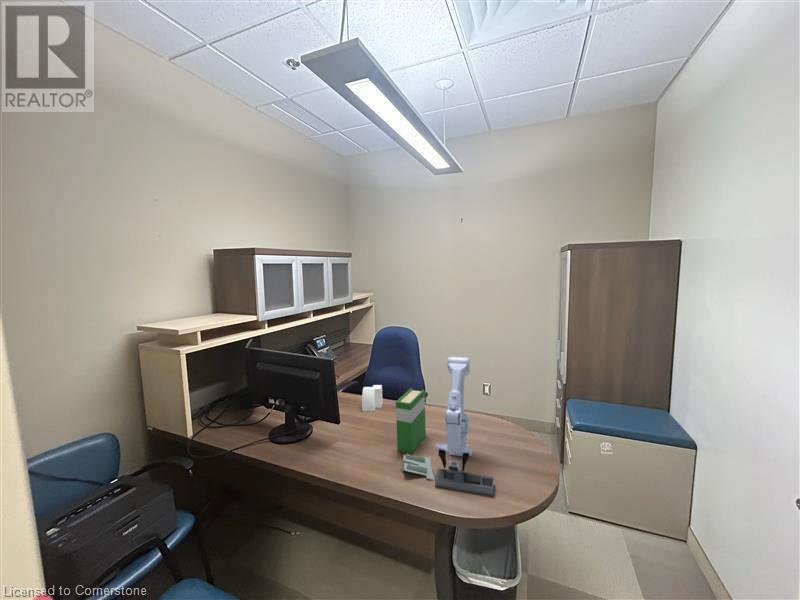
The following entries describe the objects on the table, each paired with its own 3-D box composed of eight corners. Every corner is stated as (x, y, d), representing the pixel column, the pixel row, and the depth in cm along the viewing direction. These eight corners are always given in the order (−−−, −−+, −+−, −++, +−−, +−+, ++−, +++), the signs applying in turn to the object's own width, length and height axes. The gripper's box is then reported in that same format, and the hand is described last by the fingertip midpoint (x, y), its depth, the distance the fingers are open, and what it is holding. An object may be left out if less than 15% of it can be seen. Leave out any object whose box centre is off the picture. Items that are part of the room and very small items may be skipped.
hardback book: (412, 432, 171) (410, 388, 169) (425, 435, 168) (424, 390, 165) (397, 450, 156) (395, 401, 153) (412, 453, 152) (410, 404, 150)
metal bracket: (403, 468, 133) (402, 448, 148) (400, 481, 133) (399, 459, 148) (438, 476, 133) (433, 455, 148) (434, 489, 134) (429, 466, 149)
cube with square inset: (450, 469, 140) (449, 460, 140) (459, 470, 139) (459, 461, 139) (448, 474, 137) (448, 465, 136) (458, 476, 135) (458, 467, 135)
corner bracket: (382, 403, 208) (381, 385, 207) (379, 411, 197) (379, 392, 196) (366, 403, 209) (365, 384, 208) (362, 411, 198) (361, 392, 197)
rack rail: (438, 475, 136) (438, 468, 136) (493, 484, 130) (493, 476, 130) (435, 486, 130) (435, 479, 129) (493, 496, 123) (493, 488, 123)
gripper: (434, 440, 135) (435, 471, 136) (470, 444, 130) (470, 477, 132) (437, 431, 141) (438, 461, 143) (472, 435, 137) (472, 466, 138)
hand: (454, 468), depth 138 cm, fingers open, 7 cm apart
